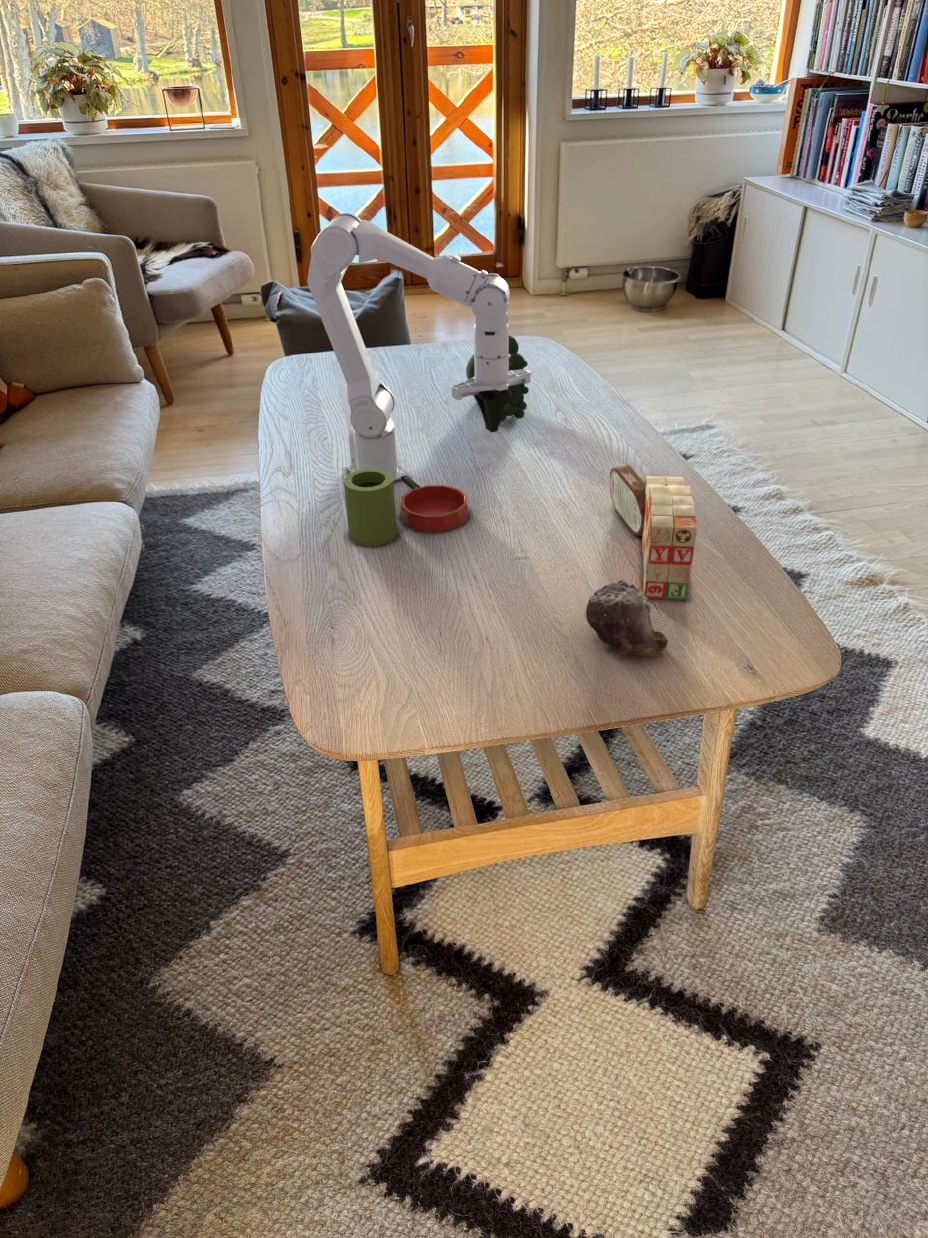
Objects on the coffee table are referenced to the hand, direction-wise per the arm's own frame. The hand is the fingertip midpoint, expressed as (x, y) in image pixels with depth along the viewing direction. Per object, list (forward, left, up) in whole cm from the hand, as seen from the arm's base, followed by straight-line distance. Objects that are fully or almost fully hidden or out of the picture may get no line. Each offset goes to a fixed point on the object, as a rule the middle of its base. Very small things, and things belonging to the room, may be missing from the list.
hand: (491, 429), depth 165 cm
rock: (+52, -11, -10) cm, 54 cm away
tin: (+26, +11, -10) cm, 30 cm away
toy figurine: (-26, +17, -10) cm, 33 cm away
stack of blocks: (+38, +8, -10) cm, 40 cm away
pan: (+4, -15, -9) cm, 18 cm away
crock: (+7, -27, -9) cm, 29 cm away
